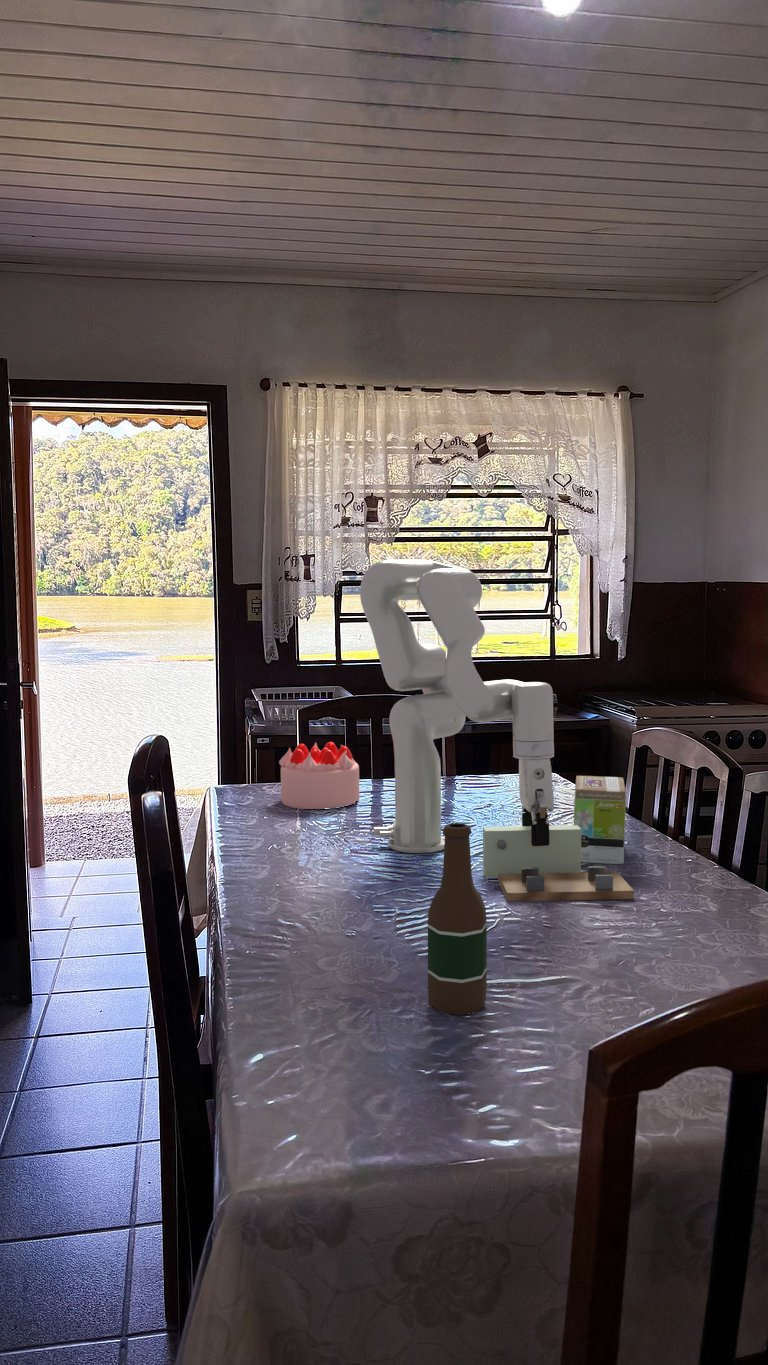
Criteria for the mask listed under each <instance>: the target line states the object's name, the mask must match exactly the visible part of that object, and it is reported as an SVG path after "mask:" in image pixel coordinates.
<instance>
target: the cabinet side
mask: <svg viewBox="0 0 768 1365" xmlns="http://www.w3.org/2000/svg"><path fill="white" fill-rule="evenodd" d="M606 875H613V890H595V881H588V871H587V872H582V871H581V873H539V876H544V891H530V892H527V891H526V883H522V882H521V874H498V877H497V879H498V880H497V882H498V884H499V887H500V889H501V890H502V894H503V895H504V897H505V900H506V901H507V902H547V901H548V902H551V901H552V902H553V901H556V902H558V901H596V900H597V901H598V900H600V901H601V900H603V901H604V900H634V897H635V896H634V895H635V890H634V889H633V888H632V887H631V886H630V885H629V883H628V882H627V881H626V880H625V879H624V878H623V877H622V876H621V875H620V873H618V871H606Z"/></svg>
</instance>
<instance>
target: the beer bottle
mask: <svg viewBox="0 0 768 1365" xmlns="http://www.w3.org/2000/svg"><path fill="white" fill-rule="evenodd" d="M472 833H473V832H472V829H471V826H470V825H469V824H466V823H462V822H453V823H448V824H445V826H443V831H442V832H441V835H442V836H443V835H444V837H445V844H444V849H443V865H442V877H441V883H440V887H439V888H438V890H437V892H436V893H435V895H434V896H433V897H432V900H431V902H430V904H429V905H430V906H429V909H428V912H427V914H428V915H427V994H428V995H427V997H428V1004H429V1005H430V1006H431V1007H432V1006H433V1007H434V1009H435V1010H436V1009H437V1010H438V1011H437V1010H436V1011H437V1012H439V1011H440V1012H442V1013H441V1014H444V1013H449V1014H448V1015H452V1014H457V1015H456V1016H459V1015H463V1016H465V1015H464V1014H467V1015H469V1014H468V1013H471V1014H473V1013H472V1012H475V1013H478V1012H477V1011H479V1012H481V1010H482V1007H483V1006H484V1004H485V1002H486V1000H487V986H488V985H487V981H488V979H487V977H488V976H487V975H488V974H487V963H488V962H487V958H488V956H487V954H488V953H487V951H488V949H487V948H488V946H487V944H488V942H487V939H488V938H487V935H488V934H487V933H488V931H487V929H488V925H487V924H488V922H487V909H486V906H485V903H484V900H483V896H482V895H481V894H480V892H479V891H478V890H477V888H476V887H475V885H474V884H475V883H474V878H473V874H472V860H471V859H472V858H471V845H470V844H471V842H470V835H471V834H472ZM433 1007H432V1008H433ZM440 1012H439V1013H440Z"/></svg>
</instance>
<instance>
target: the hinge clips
mask: <svg viewBox="0 0 768 1365" xmlns="http://www.w3.org/2000/svg"><path fill="white" fill-rule="evenodd" d="M606 869H607V867H606V866H605V865H604V866H601V865H598V866H595V865H593V866H592V865H591V866H587V872H588V881H595V890H613V875H606V872H607V870H606ZM521 882H522V883H526V891H527V892H530V891H544V876H539V868H538V867H535V868H521Z"/></svg>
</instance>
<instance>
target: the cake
mask: <svg viewBox="0 0 768 1365" xmlns="http://www.w3.org/2000/svg"><path fill="white" fill-rule="evenodd" d="M278 763H279V765H280V793H281V794H280V797H281V803H282V804H283V805H284V806H286V807H289V808H291V809H296V808H297V810H304V809H325V808H336V807H342V806H346V805H349V804H352V803H355V802H356V801H358V800H359V801H360V766H359V764H358V763H357V762H356V761H355V760H354V758H353V754H352V752H351V751H350V749H349V747H348V746H346V745H342V744H340V747H339V748H338V747H337V745H336V744H335V743H334V742H333V741H329V742H327V743H326V744H325V745H324V747H323V748H322V749H321V750H320V749H319V746H318V744H317V742H315V743H314V745H313V746H312V747H311V749H310V750H309V749H308V747H307V745H306V744H304V743H299V744H298V745H297V746H296V747H295V749H294V750H293V752H292V749H291V747H288V750H287V752H286V753H285V754H284V755H283V756H282V757H281V759H279V760H278ZM359 801H358V802H359Z"/></svg>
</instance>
